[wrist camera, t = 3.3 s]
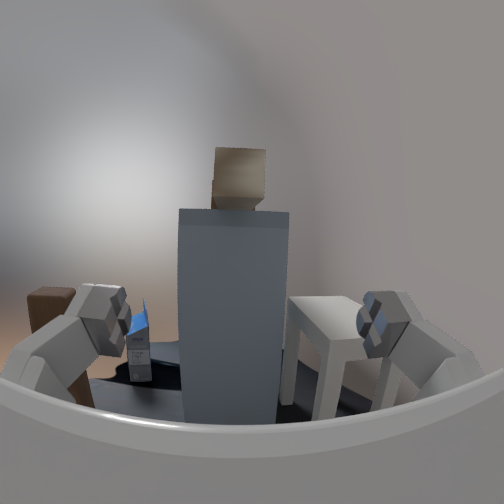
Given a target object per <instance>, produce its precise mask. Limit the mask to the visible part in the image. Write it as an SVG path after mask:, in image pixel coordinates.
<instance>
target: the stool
mask: <svg viewBox="0 0 504 504" xmlns="http://www.w3.org/2000/svg"><path fill="white" fill-rule="evenodd" d="M361 307H362V305H360V304H358V303H356V302H354V301H352V300H350V299H349V298H347V297H345V296H317V297H316V296H314V297H313V296H312V297H288V302H287V317H286V318H287V319H286V333H285V346H284V358H283V370H282V381H281V392H280V402H281V405H293V397H294V388H295V380H296V371H297V361H298V351H299V340H300V329H301V330H302V331H303V332H304V334H305V335H306V336H307V338H308V339H309V340H310V341H311V343H312V344H313V345H314V346H315V348H316V349H317V350H318V352H319V353H320V354H321V362H320V370H319V377H318V384H317V390H316V396H315V403H314V408H313V414H312V420H311V421H317V420H325V419H333V418H335V414H336V409H337V405H338V400H339V395H340V390H341V385H342V379H343V374H344V368H345V362H346V361H352V360H360V359H368V357H367V355H366V352H365V349H364V347H363V342H364V338H362V337H361V336H360V335H359V334H358V331H357V328H356V316H357V313H358V311H359V309H360V308H361ZM401 376H402V371H401V370H400V369H399V368H398V367H397V366H396V365H395V364H394V363H393V362H392V361H391V360H390V359H389V358H388V357H383V360H382V365H381V370H380V374H379V379H378V383H377V387H376V391H375V395H374V399H373V403H372V407H371V410H370V412H373V411H377V410H382V409H386V408H391V407H393V405H394V401H395V398H396V395H397V391H398V387H399V384H400V380H401Z"/></svg>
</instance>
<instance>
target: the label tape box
mask: <svg viewBox="0 0 504 504" xmlns="http://www.w3.org/2000/svg"><path fill="white" fill-rule="evenodd" d="M143 304H144V311H143V312H141V313H139V314H137V315H135V316H132V319H131V327H130V330H129V333H127V334H126V345H127V358H128V367H129V374H130V380H131V381H132V382H145V381H152V374H151V361H150V344H149V323H148V316H147V310H146V305H145V301H144V298H143Z"/></svg>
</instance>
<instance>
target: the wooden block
mask: <svg viewBox="0 0 504 504" xmlns="http://www.w3.org/2000/svg"><path fill="white" fill-rule="evenodd" d="M75 294H76V291H75V289H74V288H62V287H41V288H39V289H38V290H36V291H34V292H32V293H30V294H29V295H28V296H27V303H28V311H29V318H30V325H31V330H32V334H33V333H34V332H36V331H37V330H39V329H40V328H42V327H43V326H44V325H46V324H47V323H49V322H50V321H52V320H53V319H55V318H56V317H58V316H59V315H64V314H65V312H66V310H67V308H68V307H69V305H70V303H71V301H72V300H73V298H74V296H75ZM67 390H68V391H69V392H70V394H71V395H72V396H73V397H74V398H75V400H76V404H78V405H82V406H86V407H90V408H94V409H95V406H94V402H93V398H92V394H91V390H90V385H89V381H88V377H87V372H86V370H85V371H84V372H83V373H82V374H81V375H80V376H79V377H78V378H77V379H76V380H75V381H74V382H73V383H72V384H71V385H70V386H69V387H68V388H67Z"/></svg>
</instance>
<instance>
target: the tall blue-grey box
mask: <svg viewBox="0 0 504 504" xmlns="http://www.w3.org/2000/svg"><path fill="white" fill-rule="evenodd" d="M178 227H179V228H178V328H179V329H178V331H179V354H180V371H181V385H182V397H183V408H184V418H185V423H194V424H213V425H267V424H275V422H276V412H277V402H278V391H279V380H280V368H281V356H282V343H283V329H284V327H283V326H284V313H285V297H286V279H287V258H288V257H287V256H288V234H289V233H288V232H289V213H288V212H271V211H249V210H221V209H179V226H178Z"/></svg>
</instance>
